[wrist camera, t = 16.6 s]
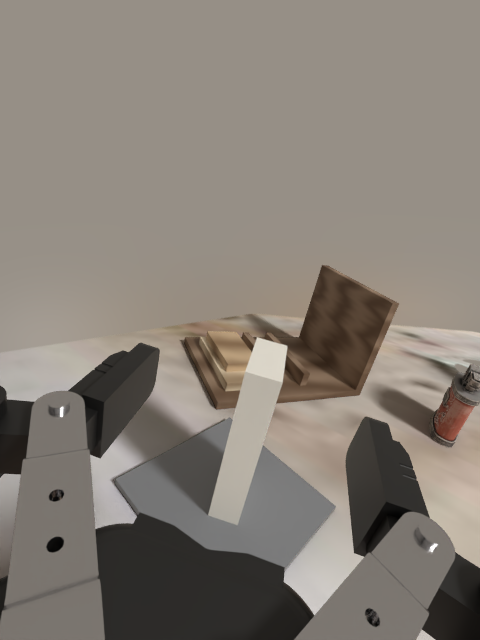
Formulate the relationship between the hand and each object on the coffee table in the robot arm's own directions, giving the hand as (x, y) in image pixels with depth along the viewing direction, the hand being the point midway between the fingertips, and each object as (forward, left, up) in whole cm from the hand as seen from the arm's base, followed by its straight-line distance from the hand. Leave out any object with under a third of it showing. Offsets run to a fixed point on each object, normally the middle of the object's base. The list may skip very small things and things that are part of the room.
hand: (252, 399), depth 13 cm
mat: (-5, +9, -18) cm, 21 cm away
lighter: (+6, +41, -19) cm, 46 cm away
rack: (-17, +30, -18) cm, 40 cm away
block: (-6, +9, -18) cm, 21 cm away
